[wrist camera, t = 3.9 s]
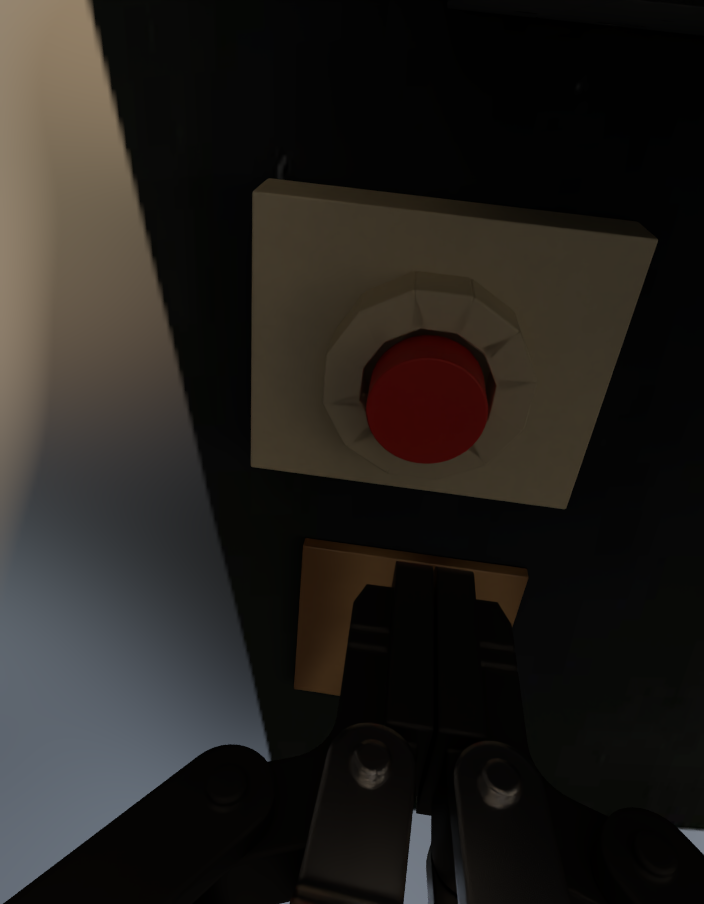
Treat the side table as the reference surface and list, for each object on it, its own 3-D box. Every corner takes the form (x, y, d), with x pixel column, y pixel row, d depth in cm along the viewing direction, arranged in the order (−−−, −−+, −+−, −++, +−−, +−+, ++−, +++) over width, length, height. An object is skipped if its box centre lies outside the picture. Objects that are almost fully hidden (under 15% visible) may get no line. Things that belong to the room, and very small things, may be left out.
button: (364, 428, 22) (360, 456, 20) (376, 327, 20) (372, 350, 18) (472, 442, 21) (475, 472, 20) (495, 341, 19) (500, 366, 18)
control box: (263, 437, 26) (238, 495, 23) (267, 177, 21) (236, 203, 18) (556, 476, 26) (575, 541, 23) (639, 221, 21) (679, 256, 17)
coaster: (295, 679, 35) (293, 689, 34) (304, 537, 29) (302, 546, 29) (482, 707, 34) (482, 717, 34) (527, 568, 29) (528, 577, 28)
